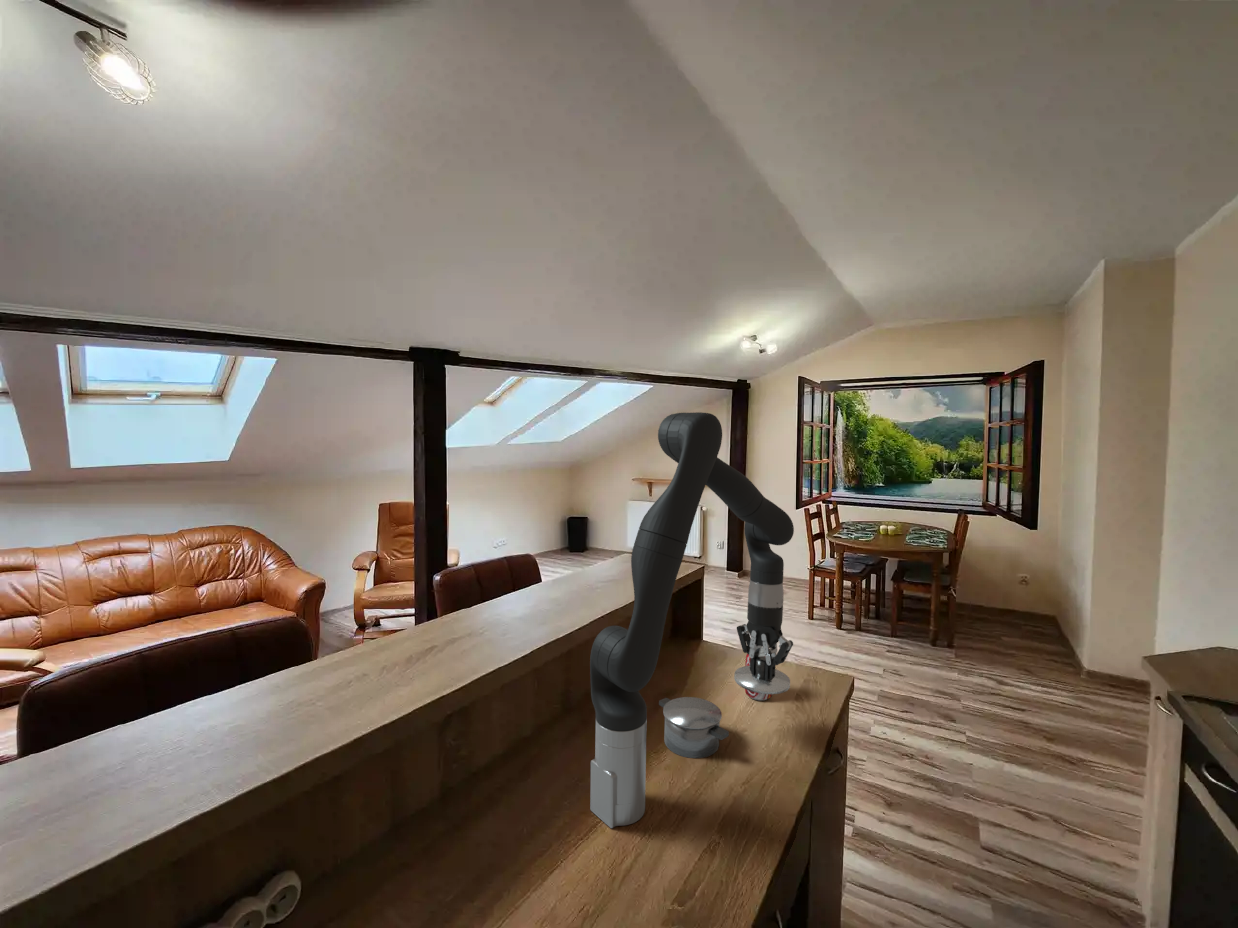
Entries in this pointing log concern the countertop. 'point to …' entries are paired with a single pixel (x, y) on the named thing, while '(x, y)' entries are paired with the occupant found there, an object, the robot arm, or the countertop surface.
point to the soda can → (753, 694)
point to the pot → (692, 726)
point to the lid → (761, 679)
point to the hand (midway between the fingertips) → (762, 676)
